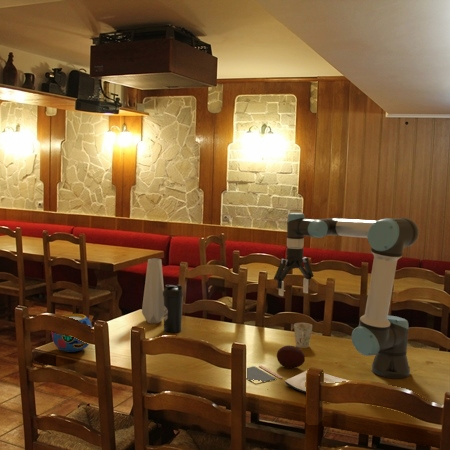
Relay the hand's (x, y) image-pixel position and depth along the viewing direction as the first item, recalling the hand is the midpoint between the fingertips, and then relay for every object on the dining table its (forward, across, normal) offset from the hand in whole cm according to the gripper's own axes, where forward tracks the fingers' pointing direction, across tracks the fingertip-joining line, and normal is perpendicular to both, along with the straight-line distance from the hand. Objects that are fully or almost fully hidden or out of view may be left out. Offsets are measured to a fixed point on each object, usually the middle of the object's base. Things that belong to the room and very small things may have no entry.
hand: (293, 294), depth 256 cm
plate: (+26, +17, +40) cm, 51 cm away
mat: (+26, +32, +20) cm, 46 cm away
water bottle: (+25, +37, -49) cm, 66 cm away
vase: (+25, +40, -68) cm, 82 cm away
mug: (+26, -6, 0) cm, 27 cm away
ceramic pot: (+25, +89, -40) cm, 101 cm away
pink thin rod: (+26, +25, +19) cm, 41 cm away
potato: (+26, +14, +19) cm, 35 cm away
